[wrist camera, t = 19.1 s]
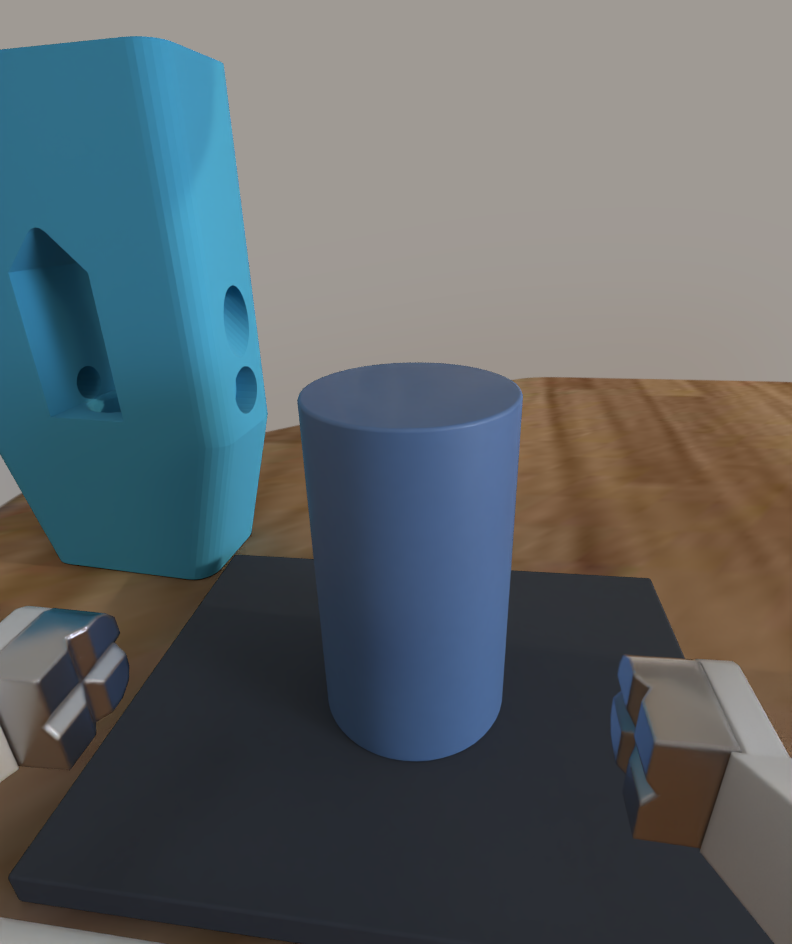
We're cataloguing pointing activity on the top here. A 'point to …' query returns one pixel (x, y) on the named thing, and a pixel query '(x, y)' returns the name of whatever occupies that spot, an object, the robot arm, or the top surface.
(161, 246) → the block
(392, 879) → the mat
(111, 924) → the top surface
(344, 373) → the cylinder block
